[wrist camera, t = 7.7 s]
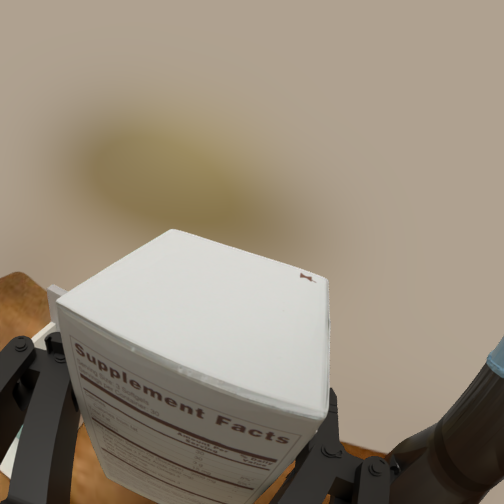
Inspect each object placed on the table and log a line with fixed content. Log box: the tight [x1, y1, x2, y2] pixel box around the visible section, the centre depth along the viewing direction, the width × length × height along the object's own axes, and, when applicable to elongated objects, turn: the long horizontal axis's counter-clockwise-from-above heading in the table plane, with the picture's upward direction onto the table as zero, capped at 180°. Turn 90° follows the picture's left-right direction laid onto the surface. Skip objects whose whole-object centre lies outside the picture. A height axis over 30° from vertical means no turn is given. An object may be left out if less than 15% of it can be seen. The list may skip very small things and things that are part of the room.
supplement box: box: [56, 229, 330, 504], centre depth 11 cm, size 7×7×13 cm
